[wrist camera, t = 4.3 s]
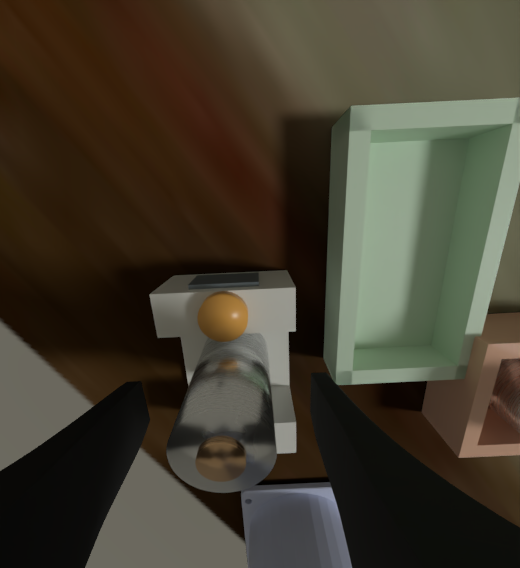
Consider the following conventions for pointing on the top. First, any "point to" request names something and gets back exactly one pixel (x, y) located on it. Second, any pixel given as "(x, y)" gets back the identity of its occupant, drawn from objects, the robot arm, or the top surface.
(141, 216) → the top surface
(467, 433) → the cup
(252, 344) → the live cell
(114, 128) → the top surface
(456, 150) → the trough
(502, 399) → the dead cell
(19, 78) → the top surface
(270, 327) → the cradle
